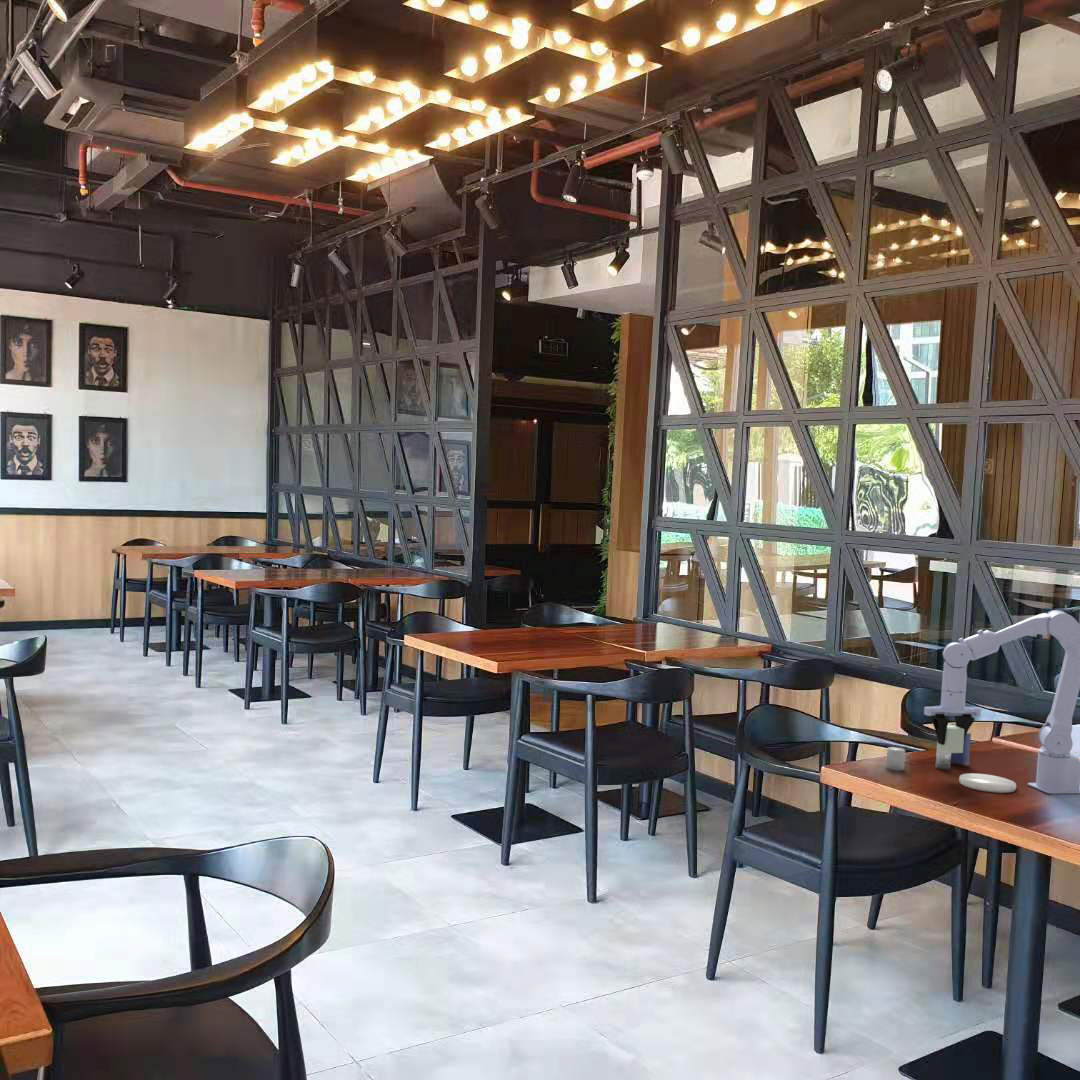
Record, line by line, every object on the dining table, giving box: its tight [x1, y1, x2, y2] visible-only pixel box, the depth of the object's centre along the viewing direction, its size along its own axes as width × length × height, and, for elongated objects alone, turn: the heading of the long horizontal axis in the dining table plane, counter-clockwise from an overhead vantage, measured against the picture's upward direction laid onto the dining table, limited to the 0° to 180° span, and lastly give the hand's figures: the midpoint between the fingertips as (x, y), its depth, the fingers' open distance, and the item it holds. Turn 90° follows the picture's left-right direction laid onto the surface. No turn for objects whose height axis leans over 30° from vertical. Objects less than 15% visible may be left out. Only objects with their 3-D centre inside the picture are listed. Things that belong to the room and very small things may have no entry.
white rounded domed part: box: [885, 746, 906, 772], centre depth 279 cm, size 4×4×5 cm
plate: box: [958, 772, 1017, 794], centre depth 267 cm, size 13×13×1 cm
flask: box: [935, 722, 972, 767], centre depth 289 cm, size 9×3×11 cm, turn 37°
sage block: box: [936, 724, 964, 753], centre depth 272 cm, size 4×4×6 cm
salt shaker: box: [935, 748, 952, 770], centre depth 283 cm, size 4×4×9 cm
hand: (950, 743), depth 272 cm, fingers closed on sage block, 4 cm apart
